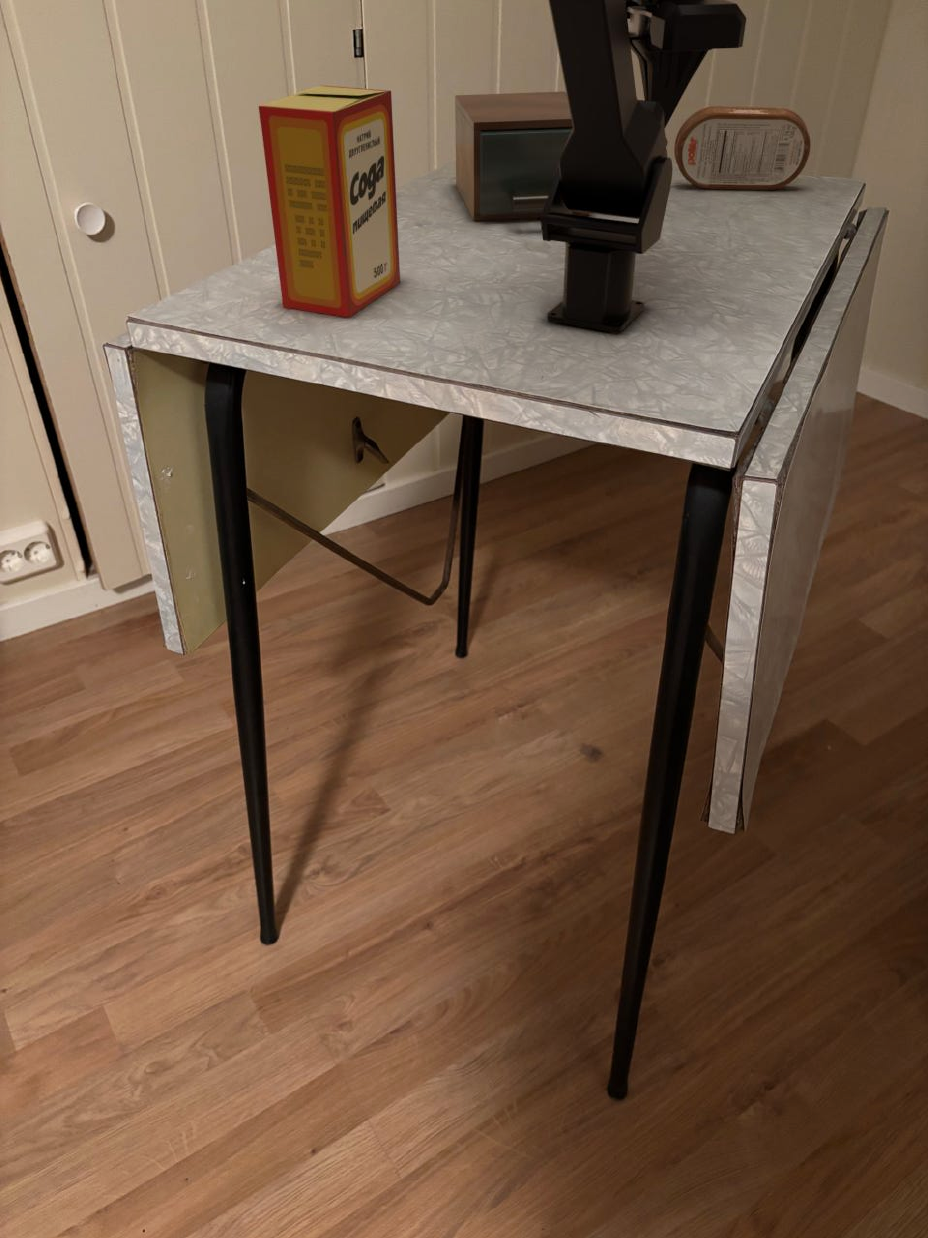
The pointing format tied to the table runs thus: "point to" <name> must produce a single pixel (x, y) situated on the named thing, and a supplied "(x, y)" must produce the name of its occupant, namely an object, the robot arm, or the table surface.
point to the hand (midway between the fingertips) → (655, 131)
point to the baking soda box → (332, 197)
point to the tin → (742, 147)
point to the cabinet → (500, 115)
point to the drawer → (518, 168)
